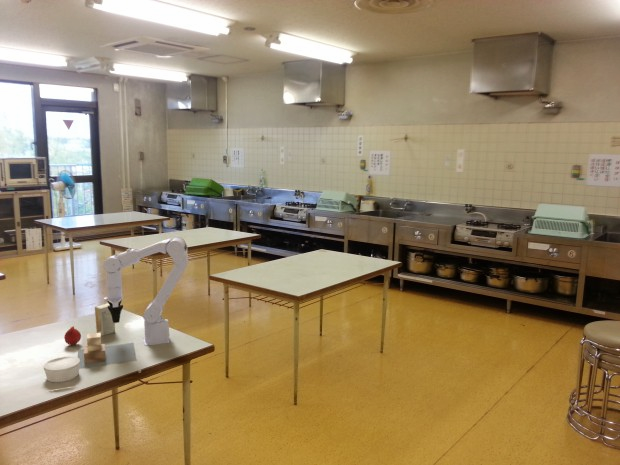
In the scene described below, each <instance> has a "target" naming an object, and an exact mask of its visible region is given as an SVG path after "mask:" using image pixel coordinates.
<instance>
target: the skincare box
mask: <svg viewBox="0 0 620 465" xmlns="http://www.w3.org/2000/svg"><path fill="white" fill-rule="evenodd" d="M108 306H110V305H109V303H108V302H106V303H103V304H100V305H95V306H94V315H95V328H96V333H101V336H105V335H109V334H113V333H115V332H116V323H113V320H112V316H111V313H110V311H109V309H108Z"/></svg>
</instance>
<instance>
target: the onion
mask: <svg viewBox="0 0 620 465" xmlns="http://www.w3.org/2000/svg"><path fill="white" fill-rule="evenodd" d="M81 339H82V335H81V332H80V330H78V329H77V328H75V326H73V325H72V326H71V327H70V328H69V329H68V330H67V331H66V332H65V334H64V342H65V343H66V344H67V345H69V346H71V347H74V346H76V345H77V344H78V343H79V342H80V341H81Z"/></svg>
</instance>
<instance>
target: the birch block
mask: <svg viewBox="0 0 620 465" xmlns="http://www.w3.org/2000/svg"><path fill="white" fill-rule="evenodd" d="M86 343H87V344H86V346H87V348H88V352H89V351H97V350H101V344H102V335H101V333H97V332H96V333H95V332H92V333H87V334H86Z"/></svg>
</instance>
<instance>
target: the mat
mask: <svg viewBox="0 0 620 465" xmlns="http://www.w3.org/2000/svg"><path fill="white" fill-rule="evenodd" d="M77 358H79V359H80V365H79V370H80V369H87V368H96V367H100V366H108V365H116V364H122V363H128V362H135V361H137V360H138V359H137V355H136V350H135V344H134V342H130V343H119V344H113V345H105V358H106V361H102V362H95V363H88V364H85V363H84V348H83V349H78V350H77Z"/></svg>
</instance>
